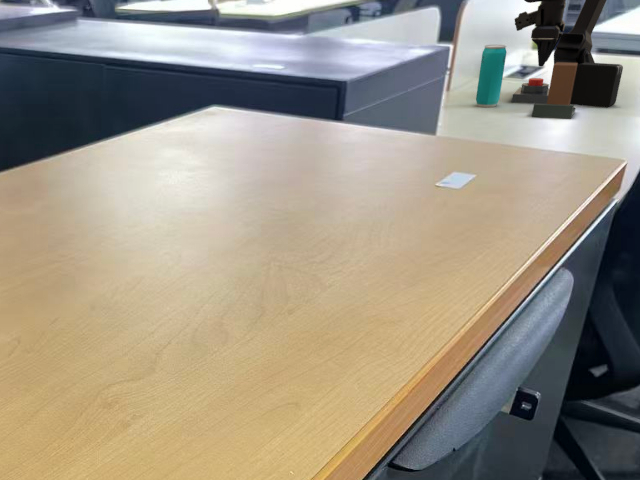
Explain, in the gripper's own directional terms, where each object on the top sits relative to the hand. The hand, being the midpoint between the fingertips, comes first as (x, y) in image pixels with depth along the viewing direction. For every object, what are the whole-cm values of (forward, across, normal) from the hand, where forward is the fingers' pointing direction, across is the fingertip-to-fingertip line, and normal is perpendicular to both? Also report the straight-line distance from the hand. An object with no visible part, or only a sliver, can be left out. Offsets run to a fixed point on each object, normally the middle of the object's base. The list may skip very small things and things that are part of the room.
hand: (542, 63), depth 227 cm
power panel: (+9, -1, -1) cm, 9 cm away
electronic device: (+10, +4, +14) cm, 17 cm away
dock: (+9, +20, +6) cm, 23 cm away
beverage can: (+9, +12, -11) cm, 19 cm away
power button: (+6, -1, -1) cm, 6 cm away
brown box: (+9, +12, +6) cm, 16 cm away
